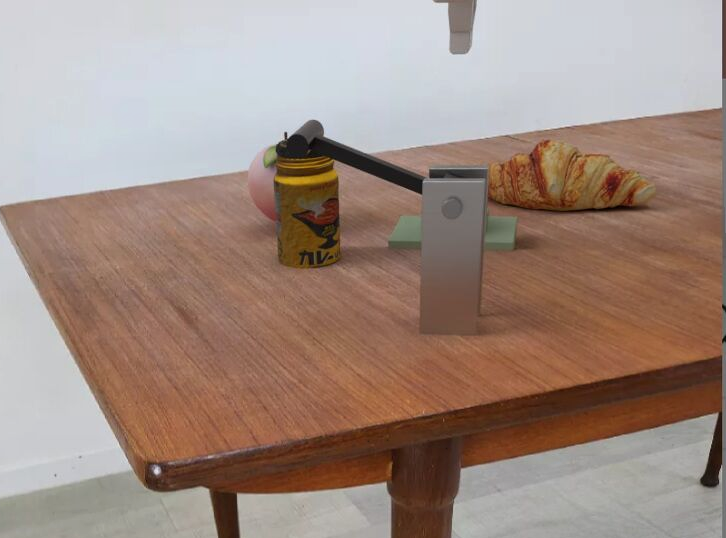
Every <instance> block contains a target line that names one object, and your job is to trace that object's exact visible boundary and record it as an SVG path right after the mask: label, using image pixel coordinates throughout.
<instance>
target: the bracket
mask: <svg viewBox="0 0 726 538" xmlns="http://www.w3.org/2000/svg"><path fill="white" fill-rule="evenodd" d="M445 173H448V174H451V175H453V176H456V177H458V178H444V176H445ZM488 182H489V164H485V165H484V164H483V165H482V164H481V165H479V164H477V165H476V164H475V165H473V164H472V165H471V164H470V165H465V164H464V165H462V164H461V165H459V164H458V165H456V164H455V165H430V167H429V168H428V177H426V178H425V179H424V180H423V184H422V195H421V212H422V230H421V249H420V276H419V277H420V279H419V280H420V281H419V283H420V284H419V327H418V328H419V329H418V334H419V335H435V336H436V335H439V336H440V335H441V336H466V337H467V336H468V337H476V336H477V332H478V321H479V320H478V319H479V318H480V317H481V313H482V298H483V281H484V264H485V263H484V262H485V250H484V249H485V232H486V215H487V207H488V199H489V198H488V196H489V195H488Z"/></svg>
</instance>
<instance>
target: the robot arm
mask: <svg viewBox="0 0 726 538" xmlns="http://www.w3.org/2000/svg"><path fill="white" fill-rule="evenodd" d="M432 1H433V2H434V3H436V4H447V17H448V28H449V29H448V30H449V43H448V44H449V46H448V47H449V49H448V50H449V52H450V54H452V55H467V54H468V53H469V52H470V50H471V48H472V46H473V36H474V26H475V19H476V12H477V7H478V0H432Z"/></svg>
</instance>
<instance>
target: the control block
mask: <svg viewBox="0 0 726 538" xmlns="http://www.w3.org/2000/svg"><path fill="white" fill-rule="evenodd" d="M489 214H490V207H489V206H487V215H486V232H485V249H484V251H514V250H515V246H516V241H517V230H518V229H517V228H518V216H495V215H493V216H492V215H491V216H490V215H489ZM421 230H422V211H421V215H401V216H400V218H399V220H398V221H397V224H396V225H395V227H394V229H393V231H392V232H391V235H390V236H389V239H388V241H387V242H388V243H387V245H388V246H387V249H388V250H389V249H392V250H393V249H396V250H421Z"/></svg>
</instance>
